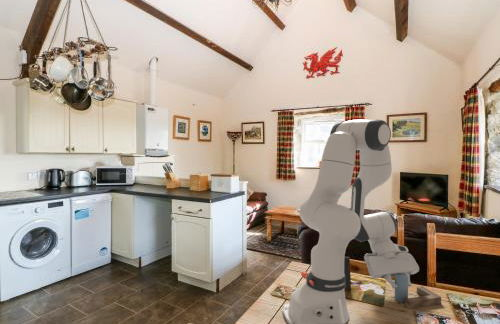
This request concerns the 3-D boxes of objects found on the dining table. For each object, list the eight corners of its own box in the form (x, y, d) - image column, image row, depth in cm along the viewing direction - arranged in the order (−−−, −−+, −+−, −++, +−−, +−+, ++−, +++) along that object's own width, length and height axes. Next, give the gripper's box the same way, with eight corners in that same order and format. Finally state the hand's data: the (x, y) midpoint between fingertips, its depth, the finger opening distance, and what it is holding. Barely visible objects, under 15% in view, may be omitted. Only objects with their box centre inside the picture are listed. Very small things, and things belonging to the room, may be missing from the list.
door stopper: (351, 290, 110) (351, 261, 109) (335, 288, 111) (335, 260, 111) (347, 280, 119) (347, 253, 118) (333, 278, 120) (333, 252, 120)
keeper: (400, 302, 100) (400, 278, 99) (391, 296, 104) (392, 273, 104) (410, 301, 100) (411, 277, 100) (401, 295, 105) (402, 272, 104)
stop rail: (409, 308, 96) (409, 301, 96) (392, 296, 105) (392, 289, 105) (441, 303, 99) (441, 297, 99) (422, 292, 107) (422, 286, 107)
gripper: (365, 250, 106) (382, 286, 97) (410, 246, 110) (430, 281, 101) (358, 257, 111) (374, 292, 102) (402, 253, 115) (420, 287, 106)
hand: (402, 287), depth 101 cm, fingers closed on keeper, 4 cm apart
